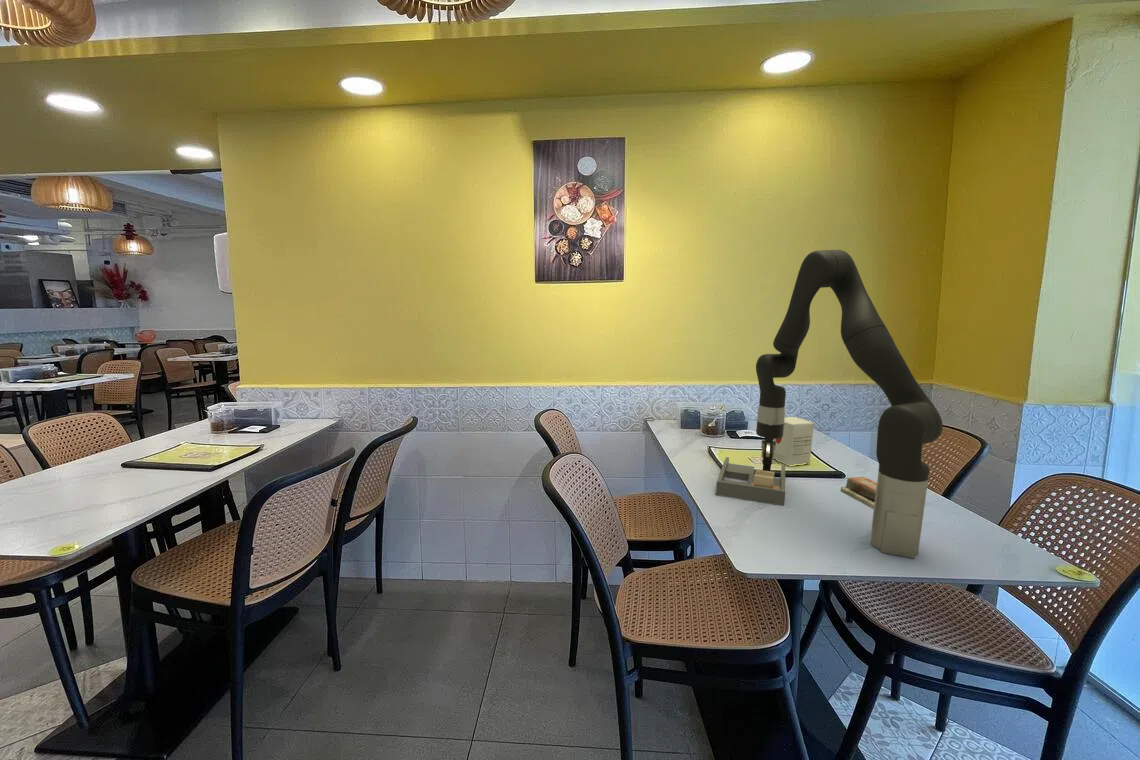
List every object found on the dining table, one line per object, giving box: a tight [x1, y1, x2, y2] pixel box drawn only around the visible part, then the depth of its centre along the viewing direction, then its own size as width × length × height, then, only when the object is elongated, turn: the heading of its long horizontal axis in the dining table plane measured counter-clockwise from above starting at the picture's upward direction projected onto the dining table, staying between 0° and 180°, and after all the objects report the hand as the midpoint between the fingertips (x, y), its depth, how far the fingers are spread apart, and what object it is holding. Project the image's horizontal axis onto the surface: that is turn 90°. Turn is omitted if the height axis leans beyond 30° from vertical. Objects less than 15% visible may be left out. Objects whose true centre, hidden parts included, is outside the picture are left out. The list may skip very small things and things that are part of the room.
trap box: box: [715, 456, 786, 506], centre depth 147 cm, size 24×18×4 cm
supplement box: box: [773, 416, 815, 465], centre depth 168 cm, size 9×9×15 cm
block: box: [754, 468, 775, 489], centre depth 140 cm, size 6×5×4 cm
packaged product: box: [840, 476, 877, 510], centre depth 136 cm, size 18×5×10 cm
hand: (766, 475), depth 148 cm, fingers closed
